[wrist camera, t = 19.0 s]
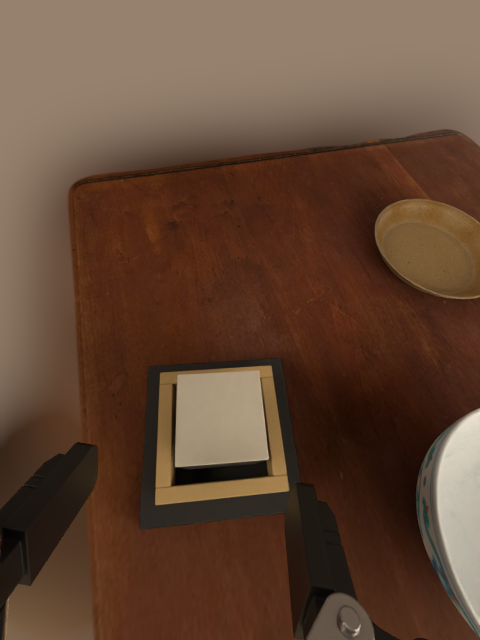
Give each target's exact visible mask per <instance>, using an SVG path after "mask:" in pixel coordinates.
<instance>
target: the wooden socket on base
mask: <svg viewBox="0 0 480 640" xmlns="http://www.w3.org/2000/svg"><path fill="white" fill-rule="evenodd" d="M257 370H259V373H260V383H261V392H262V401H263V410H264V419H265V428H266V438H267V447H268V456H269V459H268V460H265V461H262V462H259V463H256V464H253V465H242V466H230V467H218V468H205V469H193V470H189V469H184V468H179V467H175V443H176V405H177V375H183V374H201V373H220V372H238V371H257ZM294 482H300V483H301V479H300V473H299V467H298V460H297V454H296V448H295V442H294V436H293V430H292V423H291V417H290V411H289V405H288V399H287V393H286V386H285V380H284V374H283V368H282V362H281V358H272V359H256V360H240V361H224V362H209V363H193V364H177V365H161V366H149V372H148V388H147V405H146V422H145V439H144V456H143V472H142V489H141V506H140V523H139V529H140V530H141V529H150V528H158V527H167V526H176V525H185V524H194V523H202V522H211V521H220V520H229V519H238V518H246V517H255V516H264V515H273V514H281V513H286V508H287V504H288V500H289V497H290V493H291V489H292V485H293V483H294Z"/></svg>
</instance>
